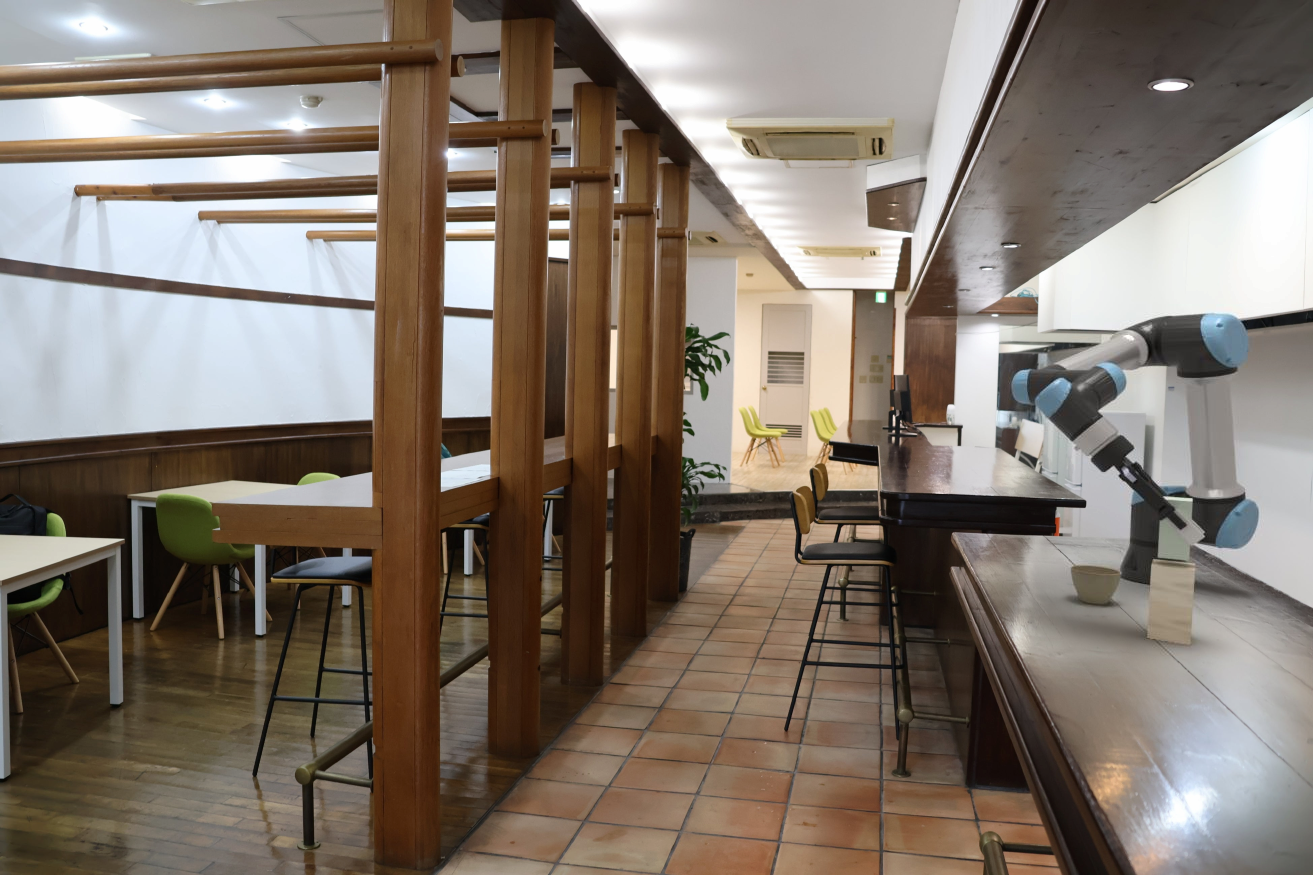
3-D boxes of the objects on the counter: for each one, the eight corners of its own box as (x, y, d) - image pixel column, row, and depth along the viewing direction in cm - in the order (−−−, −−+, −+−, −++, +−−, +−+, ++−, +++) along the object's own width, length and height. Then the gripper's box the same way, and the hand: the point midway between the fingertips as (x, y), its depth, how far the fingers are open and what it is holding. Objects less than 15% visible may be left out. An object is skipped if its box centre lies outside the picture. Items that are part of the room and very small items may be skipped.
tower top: (1151, 594, 172) (1153, 559, 171) (1193, 599, 168) (1195, 563, 168) (1149, 602, 166) (1151, 565, 165) (1192, 607, 162) (1195, 570, 162)
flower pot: (1126, 608, 188) (1128, 575, 188) (1075, 605, 190) (1077, 572, 190) (1111, 597, 198) (1113, 566, 197) (1064, 594, 200) (1065, 563, 199)
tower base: (1149, 630, 172) (1151, 594, 172) (1191, 636, 169) (1193, 599, 168) (1147, 638, 166) (1149, 602, 166) (1190, 645, 163) (1192, 607, 162)
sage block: (1159, 553, 170) (1162, 496, 169) (1189, 556, 167) (1192, 498, 167) (1157, 557, 166) (1161, 499, 165) (1188, 560, 163) (1192, 501, 162)
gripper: (1093, 455, 181) (1182, 544, 173) (1082, 461, 166) (1179, 559, 158) (1124, 430, 178) (1215, 520, 170) (1116, 435, 163) (1216, 533, 155)
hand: (1198, 538), depth 164 cm, fingers closed on sage block, 5 cm apart
